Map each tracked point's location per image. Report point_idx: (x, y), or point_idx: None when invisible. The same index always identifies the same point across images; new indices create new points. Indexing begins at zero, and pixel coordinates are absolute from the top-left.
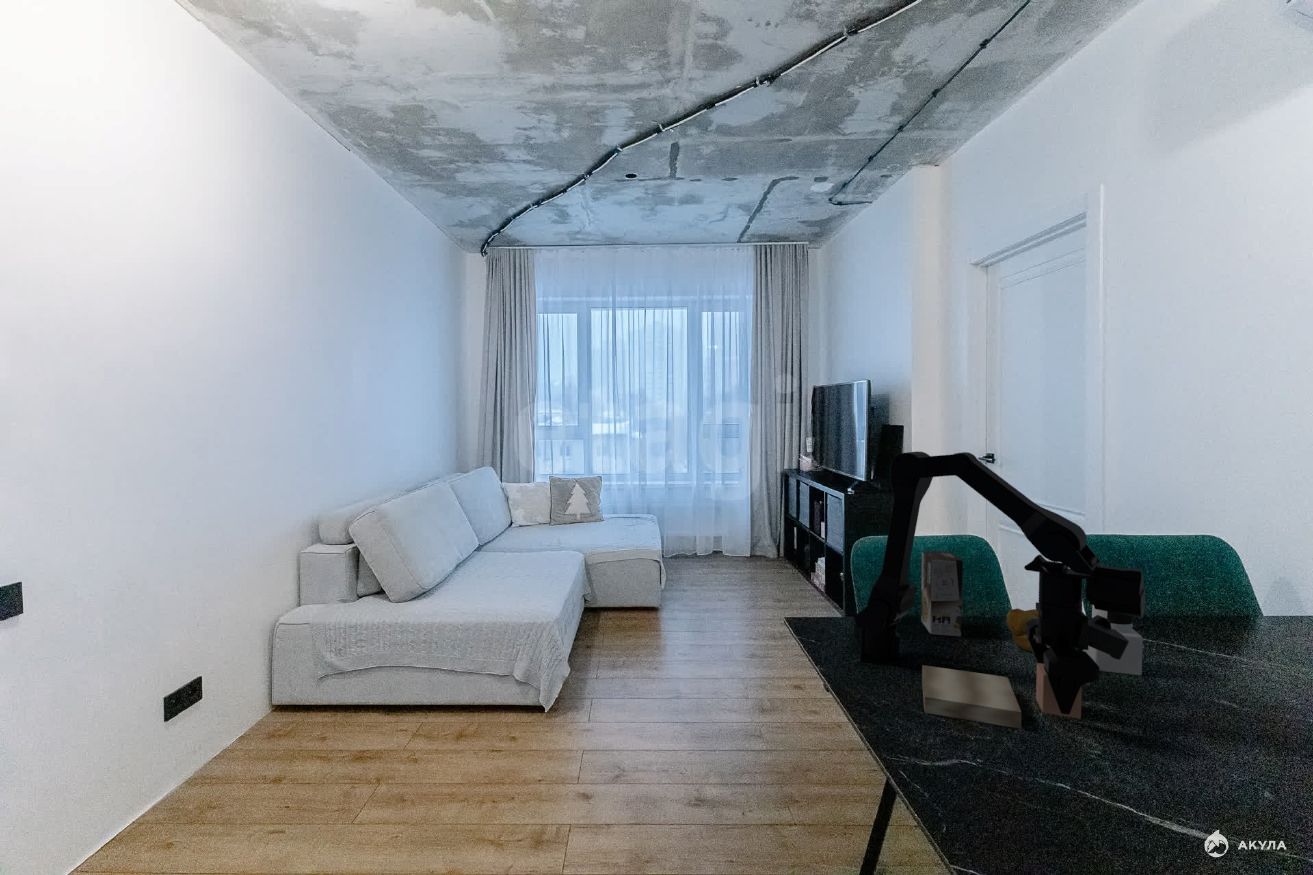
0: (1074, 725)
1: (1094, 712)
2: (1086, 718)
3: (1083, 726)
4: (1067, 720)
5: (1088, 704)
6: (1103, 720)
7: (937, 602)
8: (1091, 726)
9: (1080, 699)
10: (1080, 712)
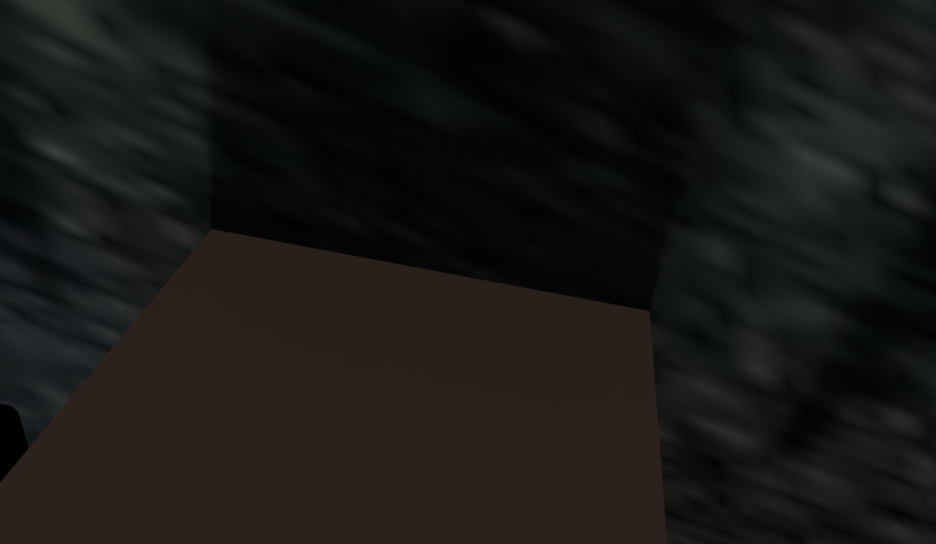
0: (854, 451)
1: (390, 41)
2: (633, 243)
3: (883, 376)
4: (723, 462)
5: (107, 5)
6: (667, 29)
7: None
8: (884, 288)
9: (656, 535)
10: (653, 372)
